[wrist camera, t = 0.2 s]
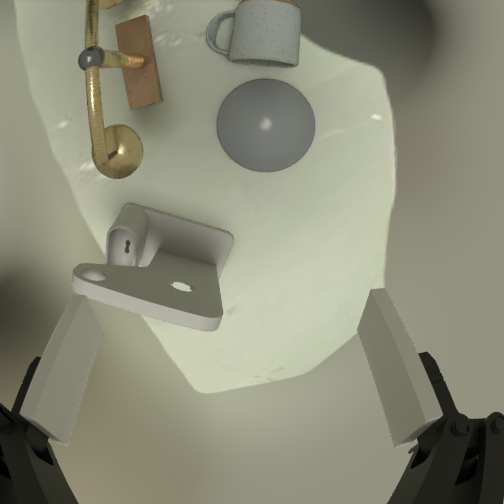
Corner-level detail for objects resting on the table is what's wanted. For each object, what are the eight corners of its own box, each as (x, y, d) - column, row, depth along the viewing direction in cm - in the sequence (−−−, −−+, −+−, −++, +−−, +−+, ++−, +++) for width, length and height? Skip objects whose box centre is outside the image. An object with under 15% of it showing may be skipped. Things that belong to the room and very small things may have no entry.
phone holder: (114, 254, 43) (71, 339, 29) (122, 198, 38) (64, 278, 23) (216, 283, 47) (208, 379, 33) (236, 232, 42) (235, 328, 27)
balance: (111, -6, 22) (42, -36, 8) (147, -20, 21) (92, -64, 8) (139, 149, 35) (83, 199, 21) (175, 141, 34) (134, 187, 21)
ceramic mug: (296, 12, 25) (308, -3, 19) (292, 68, 30) (303, 66, 24) (210, 7, 25) (201, -9, 19) (206, 64, 29) (196, 61, 23)
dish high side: (210, 86, 31) (209, 87, 30) (309, 75, 30) (310, 75, 29) (225, 176, 37) (225, 178, 37) (316, 165, 37) (318, 167, 36)
